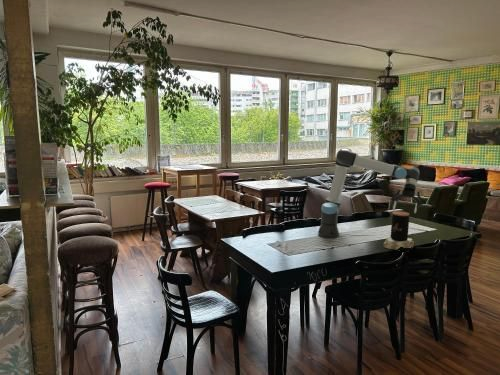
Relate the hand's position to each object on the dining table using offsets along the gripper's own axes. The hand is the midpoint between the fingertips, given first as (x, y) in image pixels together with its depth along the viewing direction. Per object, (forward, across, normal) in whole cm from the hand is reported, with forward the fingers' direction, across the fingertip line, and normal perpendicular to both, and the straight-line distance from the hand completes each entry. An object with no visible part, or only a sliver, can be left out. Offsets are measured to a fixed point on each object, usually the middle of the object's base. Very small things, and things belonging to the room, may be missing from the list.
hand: (404, 211), depth 247 cm
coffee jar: (+17, +1, -9) cm, 19 cm away
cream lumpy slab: (+21, +1, -13) cm, 24 cm away
